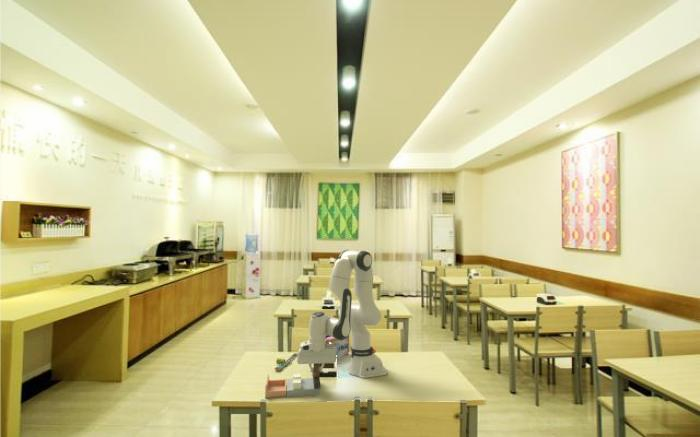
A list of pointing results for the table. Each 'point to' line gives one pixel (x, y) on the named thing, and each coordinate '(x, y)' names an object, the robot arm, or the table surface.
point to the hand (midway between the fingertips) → (316, 371)
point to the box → (275, 388)
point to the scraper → (316, 376)
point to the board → (302, 388)
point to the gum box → (339, 345)
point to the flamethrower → (284, 362)
